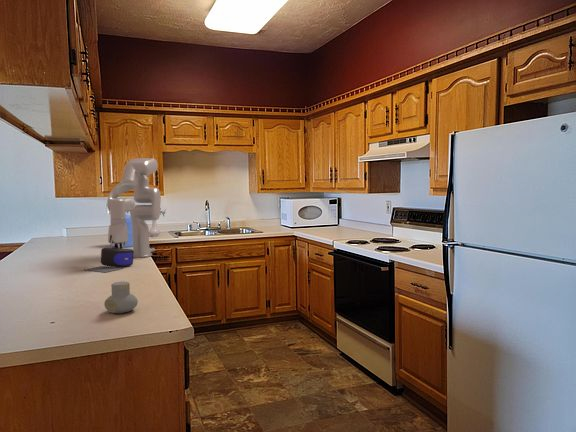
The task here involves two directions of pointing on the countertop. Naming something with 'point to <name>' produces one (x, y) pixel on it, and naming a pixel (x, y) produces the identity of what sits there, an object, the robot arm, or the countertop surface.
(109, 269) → the mat
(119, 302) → the air freshener
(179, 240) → the countertop surface
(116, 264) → the leaning round-cornered charcoal block
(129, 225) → the water jug
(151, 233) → the flower vase
